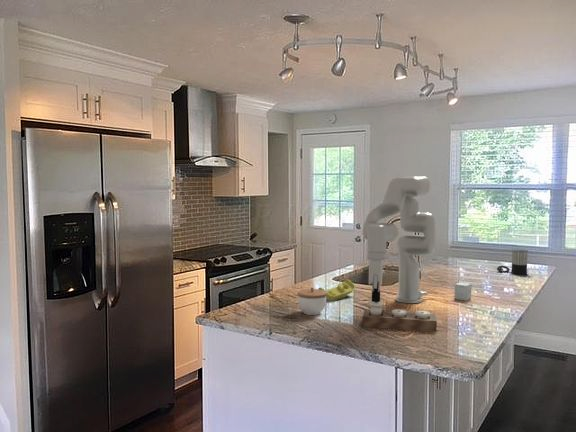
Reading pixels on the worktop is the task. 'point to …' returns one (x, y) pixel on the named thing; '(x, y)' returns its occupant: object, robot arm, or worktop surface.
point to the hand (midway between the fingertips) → (375, 301)
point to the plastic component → (339, 290)
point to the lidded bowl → (312, 301)
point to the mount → (399, 321)
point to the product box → (462, 291)
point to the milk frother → (517, 262)
